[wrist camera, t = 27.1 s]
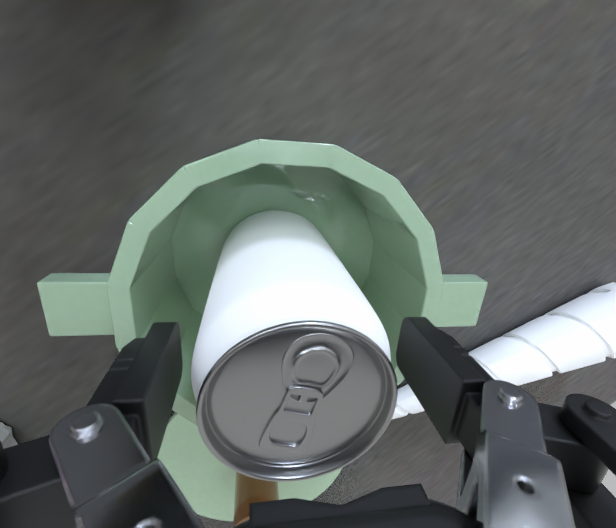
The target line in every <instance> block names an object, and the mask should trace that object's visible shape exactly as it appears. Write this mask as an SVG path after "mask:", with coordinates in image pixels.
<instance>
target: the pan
mask: <svg viewBox="0 0 616 528" xmlns="http://www.w3.org/2000/svg"><path fill="white" fill-rule="evenodd" d="M268 210H280V211H288V212H292V213H295V214H298V215H300V216H302V217H304V218H306V219H307V220H309V221H310V222H311V223H312V224H313V225H314V226H315V227H316V228H317V229H318V231H319V232H320V233H321V234H322V236H323V237H324V239H325V240H326V241H327V243H328V244H329V246H330V247H331V248H332V250H333V251H334V253H335V254H336V255H337V257H338V258H339V260H340V261H341V263H342V264H343V265H344V267H345V268H346V270H347V271H348V273H349V274H350V276H351V277H352V278H353V280H354V281H355V283H356V284H357V286H358V287H359V289H360V290H361V292H362V293H363V294H364V296H365V297H366V299H367V300H368V302H369V303H370V305H371V306H372V308H373V310H374V311H375V313H376V314H377V316H378V318H379V319H380V321H381V323H382V325H383V327H384V330H385V332H386V335H387V338H388V341H389V346H390V356H391V364H392V366H393V368H394V371H395V374H396V378H397V385H399V384H401V382H402V381H403V380H404V379H405V378H404V377H403V375H402V373H401V372H400V370H399V368H398V366H397V362H396V349H397V344H398V339H399V334H400V329H401V324H402V320H403V319H404V318H405V317H426V318H427V319H428V320H429V321H430V322H431V323H432V324H433V325H434V326H435V327H454V326H475V325H476V322H477V319H478V315H479V312H480V308H481V305H482V301H483V298H484V294H485V291H486V287H487V284H488V283H487V282H486V281H485V280H483V279H481V278H480V277H478V276H477V275H450V274H442V272H441V267H440V261H439V256H438V250H437V245H436V239H435V234H434V230H433V227H432V226H431V225H430V223H429V222H428V220H427V219H426V218H425V216H424V215H423V214H422V212H421V211H420V209H419V208H418V207H417V205H416V204H415V202H414V201H413V200H412V198H411V197H410V195H409V194H408V193H407V191H406V190H405V188H404V187H403V186H402V184H401V183H400V182H399V180H398V179H396V177H394V176H392V175H390V174H389V173H387V172H385V171H383V170H381V169H379V168H378V167H376V166H374V165H372V164H370V163H368V162H367V161H365V160H363V159H361V158H359V157H357V156H356V155H354V154H352V153H350V152H348V151H347V150H345V149H343V148H341V147H339V146H337V145H334V144H325V143H314V142H303V141H289V140H275V139H261V138H257V139H252V140H250V141H247V142H244V143H241V144H239V145H236V146H233V147H230V148H228V149H225V150H222V151H219V152H217V153H214V154H211V155H209V156H206V157H204V158H201V159H199V160H196V161H194V162H191V163H189V164H186V165H184V166H183V167H181V168H180V169H179V170H178V171H177V172H176V173H175V174H174V175H173V176H172V177H171V178H170V179H169V180H168V181H167V182H166V183H165V184H164V185H163V186H162V187H161V188H160V189H159V190H158V191H157V192H156V193H155V194H154V195H153V196H152V197H151V198H150V199H149V200H148V201H147V202H146V203H145V204H144V205H143V206H142V207H141V208H140V209H139V210H138V211H137V212H136V213H135V214H134V215H133V216H132V217H131V218H130V219H129V221H128V222H127V224H126V227H125V230H124V233H123V236H122V239H121V242H120V246H119V249H118V252H117V255H116V258H115V261H114V264H113V267H112V270H111V273H50V274H49V275H47V276H46V277H44V278H43V279H41V280H40V281H38V282H37V287H38V291H39V295H40V299H41V303H42V307H43V311H44V315H45V319H46V323H47V327H48V332H49V335H50V336H85V335H114V337H115V343H116V347H117V348H118V351H119V352H120V351H121V349H122V348H123V347H124V346H126V345H127V344H128V343H129V342H131V341H132V340H133V339H135V338H145V337H146V335H147V333H148V332H149V330H150V328H151V326H152V324H153V323H154V322H178V323H179V326H180V337H181V348H182V360H183V367H182V376H181V381H180V384H179V387H178V391H177V394H176V397H175V401H174V404H173V407H172V410H173V411H174V412H176V413H178V414H179V415H181V416H182V417H184V418H186V419H187V420H189V421H190V422H192V423H194V424H195V425H197V420H196V405H197V401H196V399H195V396H194V392H193V388H192V382H191V366H192V357H193V352H194V348H195V343H196V339H197V336H198V332H199V328H200V324H201V321H202V317H203V313H204V310H205V306H206V303H207V299H208V296H209V292H210V289H211V285H212V282H213V278H214V275H215V271H216V268H217V264H218V261H219V258H220V254H221V251H222V248H223V245H224V243H225V241H226V239H227V237H228V235H229V234H230V232H231V231H232V230H233V229H234V227H235V226H236V225H238V224H239V223H240V222H241V221H242V220H244V219H245V218H247V217H249V216H251V215H253V214H256V213H259V212H262V211H268Z"/></svg>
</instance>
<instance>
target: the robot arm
mask: <svg viewBox="0 0 616 528" xmlns="http://www.w3.org/2000/svg"><path fill="white" fill-rule="evenodd" d="M396 362H397V366H398V368H399V370H400V372H401V373H402V375H403V377H404V378H405V380H406V381H407V383H408V385H409V386H410V388H411V389H412V391H413V393H414V394H415V396H416V397H417V399H418V401H419V402H420V404H421V405H422V407H423V409H424V410H425V412H426V414H427V415H428V417H429V418H430V420H431V422H432V423H433V425H434V426H435V428H436V430H437V431H438V433H439V434H440V436H441V438H442V439H443V441H444V442H445V444H448V443H459V442H461V444H462V445H463V451H462V454H461V461H460V470H459V479H458V488H457V498H456V506H455V508H454V507H451V506H449V505H446V504H444V503H441V502H438V501H434V500H430V499H428V498H427V495H426V493H425V491H424V489H423V487H422V485H421V484H413V485H404V486H395V487H386V488H380V489H378V490H376V491H374V492H371V493H369V494H367V495H365V496H362V497H360V498H358V499H355V500H353V501H351V502H349V503H346V504H343V505H336V504H330V503H323V502H317V501H310V500H304V499H297V498H290V499H282V500H273V501H264V502H256V503H250V505H249V520H247V521H245V522H243V523H240V524H238V525H237V526H235V527H233V528H616V498H615V497H614V496H613V495H612V494H611V493H610V491H608V489H607V488H606V487H605V486H604V485H603V484H602V483H601V482H602V480H603V478H604V476H605V475H606V473H607V471H608V469H610V470H611V471H612V472H613V473H614V474H615V475H616V409H615V408H613V407H612V406H610V405H609V404H607V403H605V402H603V401H601V400H599V399H596V398H593V397H590V396H587V395H583V394H570V395H568V396H567V397H566V399H565V401H564V403H563V406H562V407H558V406H552V405H546V404H541V403H537V401H536V400H535V399H534V397H533V396H531V395H530V394H529V393H528V392H527V391H525V390H524V389H522V388H520V387H519V386H517V385H514V384H512V383H509V382H506V381H501V380H494V379H493V378H492V377H491V376H490V375H489V374H488V373H487V372H486V371H485V370H484V369H483V368H482V367H481V366H480V365H479V364H478V363H477V362H476V360H475V359H474V358H473V357H472V356H469V353H468V352H467V351H466V350H465V349H464V348H461V345H460V344H459V343H458V342H457V341H456V340H455V339H454V338H453V337H451V336H450V335H448V334H446V333H445V332H443V331H441V330H440V329H437V328H436V327H435V326H434V325H433V324H432V323H431V322H430V321H429V320H428V319H427V318H426V317H405V318H404V319H403V320H402V324H401V329H400V334H399V339H398V344H397V349H396ZM182 367H183V360H182V348H181V337H180V326H179V323H178V322H154V323H153V324H152V326H151V328H150V330H149V332H148V333H147V335H146V337H145V338H135V339H133V340H132V341H131V342H129V343H128V344H127V345H126V346H124V347H123V348H122V349H121V351H120V353H119V354H118V356H117V358H116V359H115V361H114V362H113V364H112V366H111V367H110V370H109V371H108V372H107V374H106V375H105V377H104V379H103V380H102V382H101V383H100V385H99V387H98V388H97V390H96V391H95V393H94V395H93V396H92V398H91V400H90V401H89V403H88V404H87V406H85V407H82V408H80V409H78V410H76V411H74V412H72V413H70V414H68V415H67V416H66V417H64V418H63V419H62V420H60V421H59V422H58V423H57V424H56V426H55V427H54V428H53V430H52V431H51V433H50V435H48V436H45V437H42V438H39V439H35V440H32V441H29V442H25V443H22V444H18V445H15V446H12V447H8V448H5V449H4V448H3V446H2V443H1V441H0V528H205V527H204V526H203V524H202V522H201V521H200V519H199V518H198V516H197V515H196V513H195V512H194V510H193V509H192V507H191V506H190V504H189V502H188V501H187V499H186V498H185V496H184V495H183V493H182V492H181V490H180V489H179V487H178V485H177V484H176V482H175V481H174V479H173V478H172V476H171V475H170V473H169V472H168V470H167V469H166V467H165V465H164V464H163V463H162V461H161V460H160V459H158V454H159V451H160V448H161V444H162V441H163V438H164V434H165V431H166V428H167V424H168V421H169V417H170V414H171V411H172V407H173V404H174V401H175V397H176V394H177V391H178V387H179V384H180V381H181V376H182Z"/></svg>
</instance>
